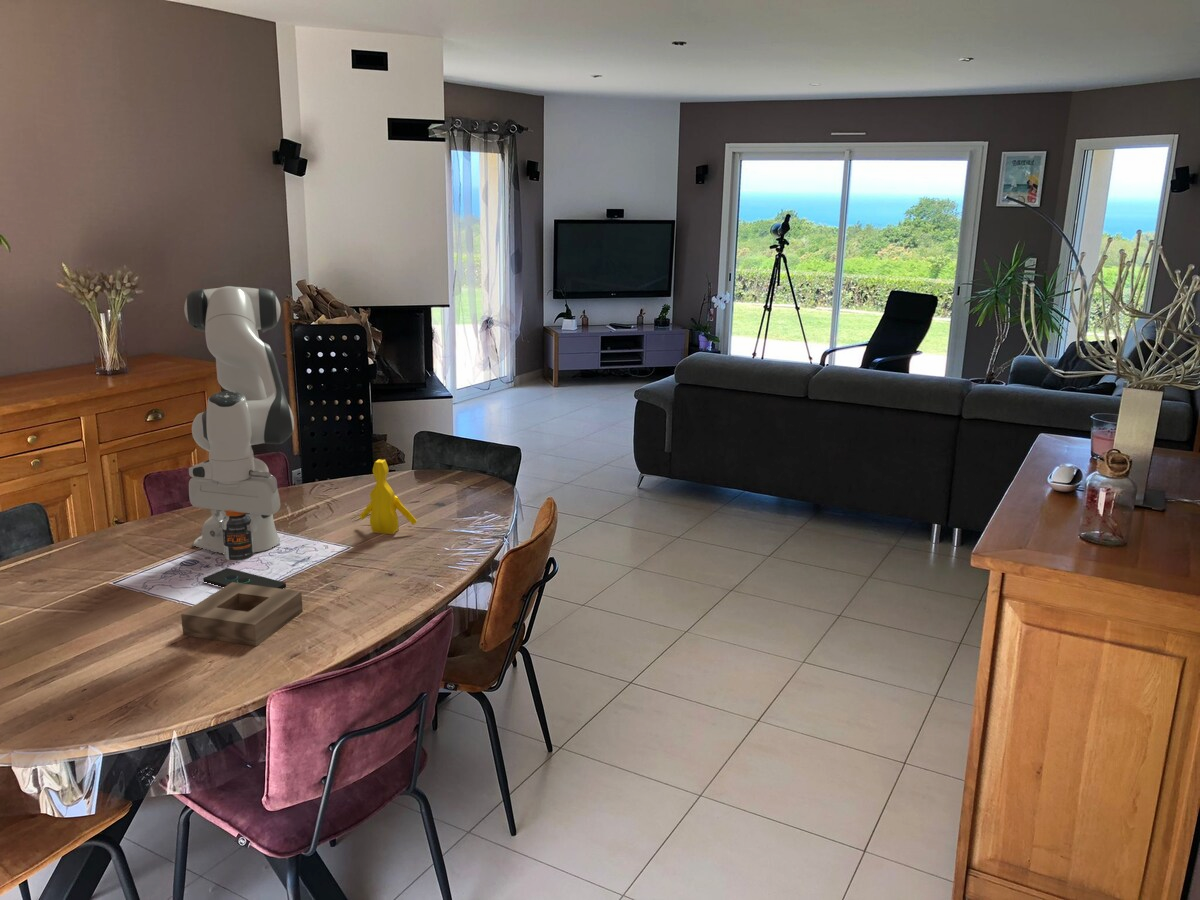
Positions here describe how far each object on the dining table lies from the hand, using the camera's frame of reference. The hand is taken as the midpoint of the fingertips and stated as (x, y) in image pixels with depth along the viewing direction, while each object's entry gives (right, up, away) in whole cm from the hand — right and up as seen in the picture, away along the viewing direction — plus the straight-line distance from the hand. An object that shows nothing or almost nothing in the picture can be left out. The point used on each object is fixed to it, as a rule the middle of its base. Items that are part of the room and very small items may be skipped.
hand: (237, 529), depth 200 cm
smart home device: (-8, -16, +26) cm, 32 cm away
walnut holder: (-1, -21, +6) cm, 22 cm away
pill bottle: (0, -6, +2) cm, 6 cm away
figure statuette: (+17, -6, +64) cm, 67 cm away
